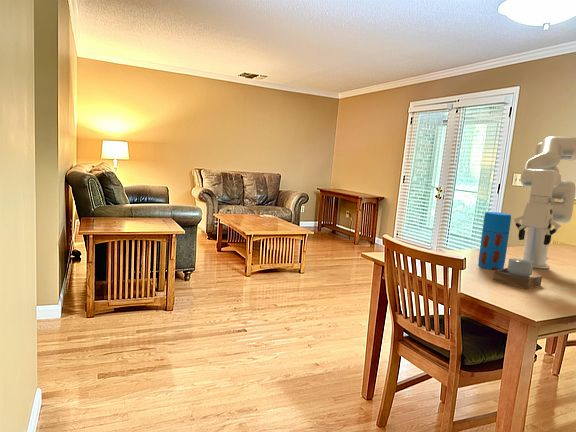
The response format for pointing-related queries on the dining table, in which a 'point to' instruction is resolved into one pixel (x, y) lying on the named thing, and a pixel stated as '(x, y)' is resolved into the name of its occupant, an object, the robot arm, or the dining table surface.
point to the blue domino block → (494, 240)
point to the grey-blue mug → (520, 268)
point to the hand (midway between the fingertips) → (533, 242)
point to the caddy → (516, 279)
